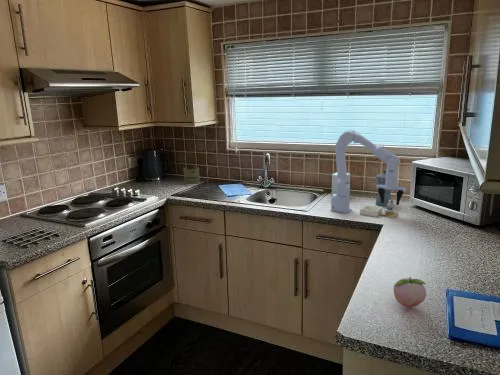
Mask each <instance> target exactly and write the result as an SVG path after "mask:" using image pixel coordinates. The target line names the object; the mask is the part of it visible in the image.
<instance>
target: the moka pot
mask: <svg viewBox="0 0 500 375" xmlns="http://www.w3.org/2000/svg"><path fill="white" fill-rule="evenodd" d="M375 180H376V186H377V185H385V182H386V170H384V171H383V173H379V174H376V175H375ZM391 192H392V190H385V194H384V203H382V202H381V198H380V195H379V193H378V192H377V194H376V198H375V206H378V207H383V208H384V207H385V208H387V199H392V194H391Z"/></svg>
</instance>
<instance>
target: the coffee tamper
mask: <svg viewBox="0 0 500 375" xmlns="http://www.w3.org/2000/svg"><path fill="white" fill-rule="evenodd" d="M384 211H385V212H386V213H394V212H395V209H394V199H392V198H391V199H387V207H385V210H384Z"/></svg>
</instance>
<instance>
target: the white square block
mask: <svg viewBox="0 0 500 375" xmlns="http://www.w3.org/2000/svg"><path fill="white" fill-rule="evenodd" d="M347 178H348V182H349V184H350V185H351V172H347ZM337 180H338V176H337V171H336V172H335V173H332V174H331V196H332V195H333V194H336V187H337ZM348 192H349V194H351V189H350V190H349V191H348Z"/></svg>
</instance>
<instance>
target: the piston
mask: <svg viewBox="0 0 500 375" xmlns="http://www.w3.org/2000/svg"><path fill="white" fill-rule="evenodd" d="M200 180H201V177H200V167H198V166H193V168H192V169H188V168H187V166H186V167H183V181H184V185H185V184H198V183H200V184H201V181H200ZM198 185H199V184H198Z"/></svg>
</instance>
